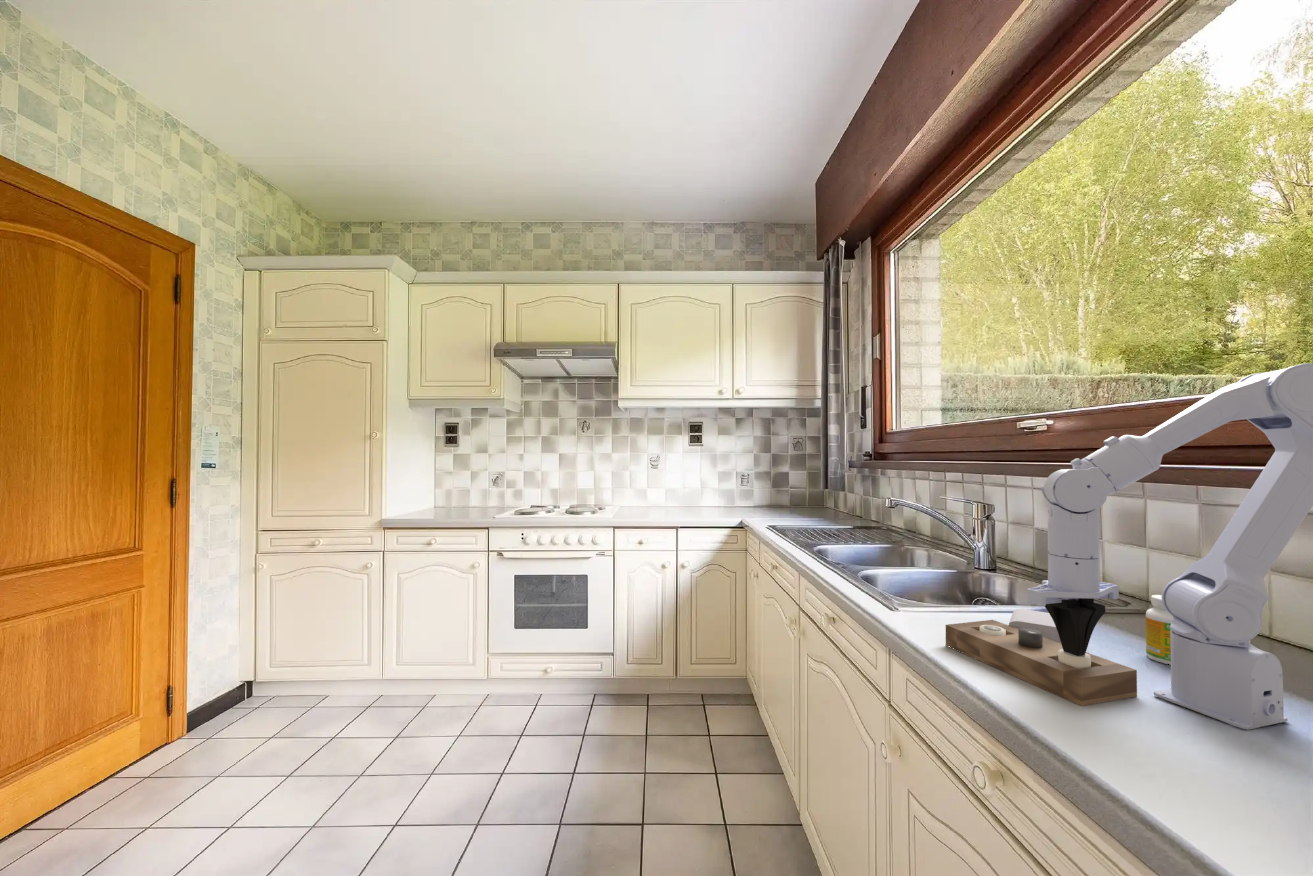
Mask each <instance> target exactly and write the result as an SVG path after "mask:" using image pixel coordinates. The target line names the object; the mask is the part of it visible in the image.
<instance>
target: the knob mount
mask: <svg viewBox="0 0 1313 876" xmlns="http://www.w3.org/2000/svg"><path fill="white" fill-rule="evenodd" d="M981 625H993V626H998V627H1001V628H1003V629H1005V630H1006V635H1003V636H995V637H994V636H991V635H988V634H986V633H983V632H980V626H981ZM946 645H947V646H950V647H951V648H950V647H949V648H950V649H952V648H954V649H955V650H954V649H953V650H954V651H956V650H958V651H957V652H959V651H960V652H959V653H961V652H963V653H964V654H963V653H962V654H963V655H965V654H967V655H966V656H967V657H970V656H971V657H970V658H972V657H973V659H974V658H976V659H975V660H977V661H979V660H980V661H979V662H981V661H982V662H981V663H983V662H985V663H984V664H985V665H988V664H989V665H988V666H991V667H992V666H993V668H995V669H997V668H998V669H997V670H999V669H1000V671H1001V670H1002V672H1004V673H1006V674H1008V673H1009V674H1008V675H1011V676H1013V677H1015V678H1016V679H1017V678H1018V679H1020V680H1022V681H1024V682H1027V683H1029V684H1031V685H1033V686H1036V687H1038V688H1040V689H1043V690H1044V691H1047V692H1049V693H1052V694H1054V695H1056V696H1058V697H1060V698H1063V699H1065V700H1067V701H1069V702H1072V703H1074V704H1076V705H1078V706H1081V707H1085V706H1089V705H1095V704H1101V703H1107V702H1112V701H1119V700H1125V699H1130V698H1135V697H1138V674H1137V673H1138V672H1137V671H1138V670H1137V669H1135V668H1132V667H1130V666H1127V665H1124V664H1121V663H1118V662H1115V661H1113V660H1109V659H1107V658H1103V657H1101V656H1097V655H1095V654H1092V653H1089V652H1087V651H1086V654H1089V655H1090V656H1091V667H1090V668H1083V669H1077V668H1075V667H1072V666H1070V665H1067V664H1064V663H1062V662H1059V661H1058V650H1060V649H1063V648H1062V644H1061V643H1058V642H1055V641H1052V640H1049V639H1046V638H1044V637H1043V647H1042V648H1029V647H1025V646H1022V645H1020V644H1019V643H1018V628H1015V627H1012V626H1009V624H1006V623H1003V622H1000V621H997V620H994V619H987V620H977V621H970V622H969V621H968V622H959V623H951V624H950V623H948V624H945V646H946ZM947 646H946V647H947Z"/></svg>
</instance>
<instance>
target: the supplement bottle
mask: <svg viewBox="0 0 1313 876" xmlns="http://www.w3.org/2000/svg"><path fill="white" fill-rule="evenodd" d="M1161 596H1162V594H1152V595H1151V596H1150V597H1151V599H1150V603H1151V606H1152V608H1148V609H1147V610H1146V612H1145V651H1146V652H1145V653H1146V656H1147V658H1149V659H1151V660H1153V661H1156V662H1158V663H1161V664H1166V665H1168V664H1169V666H1171V640H1170V630H1171V629H1170V625H1171V623H1172V622H1173V616H1172V615H1171V614H1170V613H1169V612H1168V611H1167V610H1166V609H1165V607H1164V605H1163V603H1162V598H1161Z"/></svg>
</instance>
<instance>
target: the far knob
mask: <svg viewBox="0 0 1313 876" xmlns="http://www.w3.org/2000/svg"><path fill="white" fill-rule="evenodd" d="M980 632H983V633H986V634H988V635H991V636H994V637H995V636H1003V635H1006V630H1005V629H1003V628H1001V627H998V626H993V625H981V626H980Z"/></svg>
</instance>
